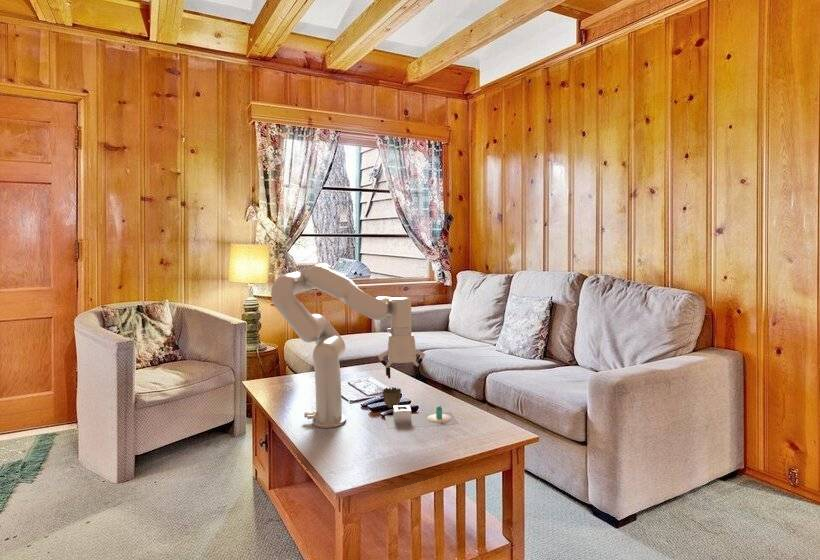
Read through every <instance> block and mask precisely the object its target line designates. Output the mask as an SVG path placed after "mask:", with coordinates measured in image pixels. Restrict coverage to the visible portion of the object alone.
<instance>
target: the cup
mask: <svg viewBox="0 0 820 560" xmlns="http://www.w3.org/2000/svg"><path fill="white" fill-rule="evenodd" d="M401 392H402V389H401V388H399V387H389V388H388V387H385V388H383V390H382V395H383V401H384V404H385V405H386V406H387V408H390V409H391V408H392V407H393V406H398V405H399V404H400V402H401ZM392 409H393V408H392Z"/></svg>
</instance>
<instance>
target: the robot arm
mask: <svg viewBox="0 0 820 560" xmlns="http://www.w3.org/2000/svg"><path fill="white" fill-rule="evenodd" d="M315 289H317V290H319V291H321V292H323V293H325V294H327V295H329V296H331V297H333V298H335V299H338V301H341V302H342V303H343V304H345V305H346V306H348V307H349V308H351V309H352V310H353V311H355V312H356V313H358V314H360V315H363V316H365V317H366V318H368V319H372V320H374V321H380V320H383V319H385V318H386V317H388V316H390V327H388V328H386V332H387V333H390V334H389V336H388V340H387V341H388V342H387V350H385V351H384V352H382V353H380V354H378V356H377V357H378V359H379V361H380V362H381V365H383V366H384V367H385V376H387V378H388V379H391V365H392V364H405V363H413V365H412V370H413V371H412V375H413V377H414V378H417V375H418V374H419V365H420V364H421V363H422V362H423V360H424V358H425V356H426V354H425V352H423V351H421V350H419V349H416V348H417V347H416V340H415V335H414V334H413V331H412V300H411V299H410V298H409V297H405V296H400V297H399V296H398V297H391V296H384V295H382V296H381V295H380V296H379V295H378V296H376V297H375V296H372V295H370V294H368V293H366V292H365V291H363V290H362V289H360V287H358V286H357V285H356V283H355V282H354V281H353V280H352V279H351V278H348V277H347V276H344V275H342V274H341V273H338V272H337V271H335V270H334V267H332V266H331V265H329V264H328V263H324V262H322V263H321V262H320V263H318V264H317V263H316V264H313V265H311V266H310V267H307V268H303V269H299V270H296V271H295V270H294V271H293V272H292V271H291V272H287V273H284V274H280V276H278V277H277V278H276V279H275V281H274V282H273V284H272V286H271V291H270V296H271V301H272V304H273V306H274V307H275V309H276V310H277V311H278V313H280V315H281V316H282V317H283V318H284V320H285V321H286V322H287V323H288V325H289V326H290V328H291V329H292V330H293V331H294V332H295V334H296V335H297V337H299V338H300V340H301V341H302V342H304V343H306V344H307V343H315V344H316V345H315V346H314V348H313V352H312V362H313V368H314V369H313V370H314V380H315V381H314V383H315V384H314V385H315V410H313V411H311V412H307V411H306V412H304V414H303V415H304V418H306V419H307V420H311V419H312V425H313V426H314V427H317V428H323V429H329V428H337V427H340V426H342V425H344V424H346V422H347V417H346V416H345V415H344V414H343V412H342V411H343V409H342V408H343V407H342V405H343V404H342V402H343V401H342V378H341V376H342V374H341V367H340V366H341V365H340V359H341V357H343V355H344V353H345V352H346V344H345V341H344V339H343V337H342V336H341V335H340V334H339V332H338V331H337V330H336V328H334V326H333V325H332V324H331V323H330V322H329V320H328V319H327V318H326V317H325V316H323V315H322V314H319V313H311V312H310V311H309V310H308V309H307V307H306V306H305V305H304V304H303V303H302V301H300V300H299V299H298V298H297V297H296V295H299V294H301V293H304V292H307V291H310V290H315ZM417 355H419V358H417ZM386 356H387V360H384V357H386Z"/></svg>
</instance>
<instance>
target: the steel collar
mask: <svg viewBox="0 0 820 560" xmlns="http://www.w3.org/2000/svg"><path fill="white" fill-rule="evenodd" d="M401 408H404V410H400V409H401ZM392 410H393V411H392V415H393V419H394V422H395V425H397V424H412V423H411V414H412V408H411V406H410V404H402V405H399V404H398V405H396V406H393V408H392Z"/></svg>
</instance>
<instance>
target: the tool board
mask: <svg viewBox="0 0 820 560" xmlns="http://www.w3.org/2000/svg"><path fill="white" fill-rule="evenodd" d="M400 410H404V408H401V409H400ZM384 418H385V423H386V426H387V429H388V430H390V429H391V430H392V429H393V430H394V429H407V428H422V427H434V426H435V427H437V426H448V425H450V426H451V425H460V423H459V422H458V419H457V418H456V417H455V415H454V414H453V412H452V411H443V407H442V405H437V406H436V409H435V412H427V413H425V412H424V413H411V423H412V424H397V425H395V422H394V419H393V414H391V415H384Z"/></svg>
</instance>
